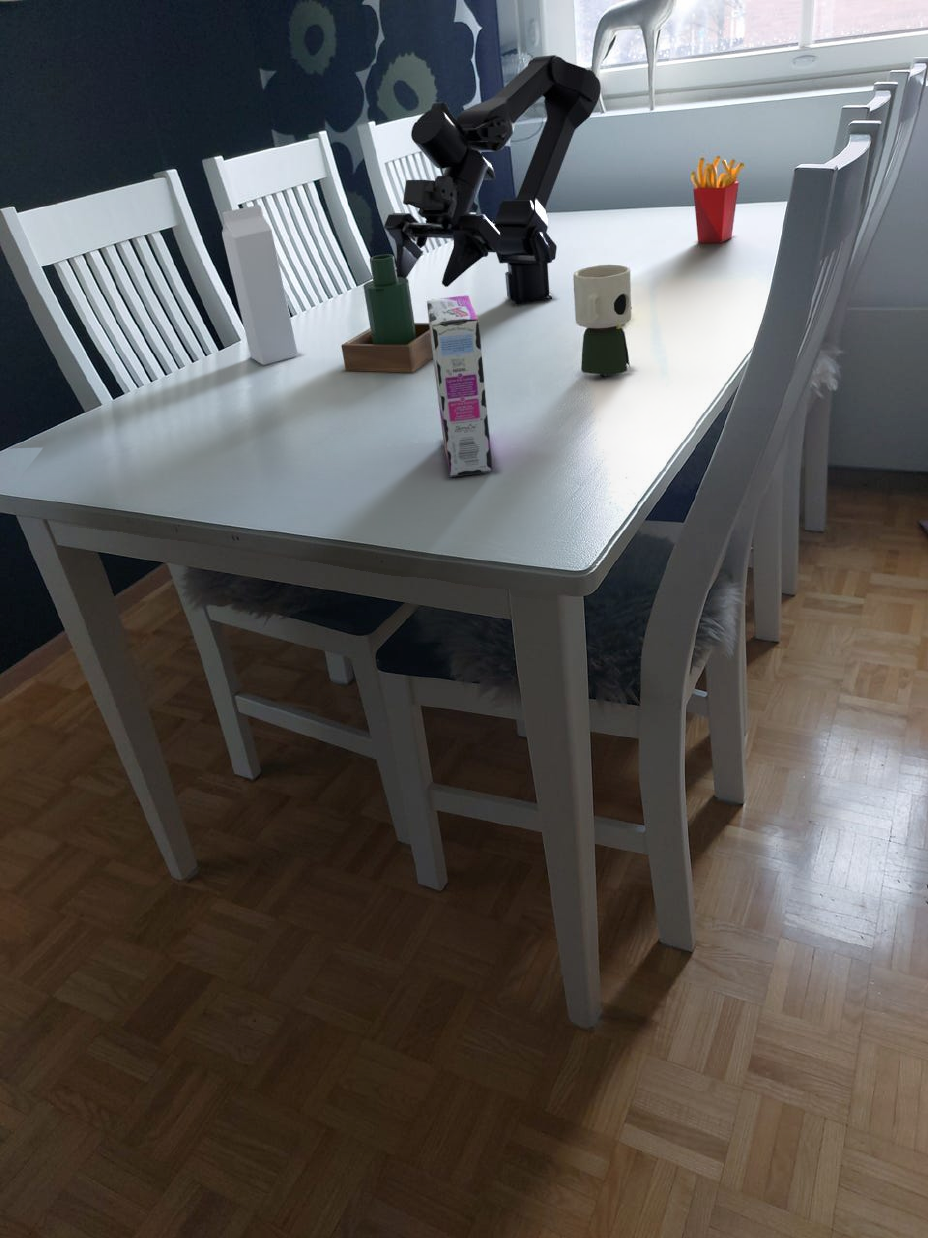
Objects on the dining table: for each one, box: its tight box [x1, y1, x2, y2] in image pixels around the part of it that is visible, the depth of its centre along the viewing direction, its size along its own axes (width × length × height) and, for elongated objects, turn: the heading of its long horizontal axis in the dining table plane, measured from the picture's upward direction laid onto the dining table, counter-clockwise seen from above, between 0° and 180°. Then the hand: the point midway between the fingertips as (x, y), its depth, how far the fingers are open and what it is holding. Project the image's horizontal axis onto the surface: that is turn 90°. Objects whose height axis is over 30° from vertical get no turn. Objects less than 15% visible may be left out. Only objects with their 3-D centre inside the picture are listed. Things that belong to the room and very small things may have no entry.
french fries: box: [690, 155, 745, 244], centre depth 179 cm, size 9×8×15 cm
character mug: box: [572, 264, 633, 378], centre depth 121 cm, size 11×7×13 cm, turn 156°
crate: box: [340, 322, 433, 374], centre depth 140 cm, size 11×11×4 cm
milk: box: [221, 204, 299, 366], centre depth 144 cm, size 6×6×22 cm
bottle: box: [362, 253, 416, 345], centre depth 137 cm, size 6×6×14 cm
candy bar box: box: [426, 295, 494, 478], centre depth 102 cm, size 11×5×16 cm, turn 5°
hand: (421, 283), depth 141 cm, fingers open, 9 cm apart
